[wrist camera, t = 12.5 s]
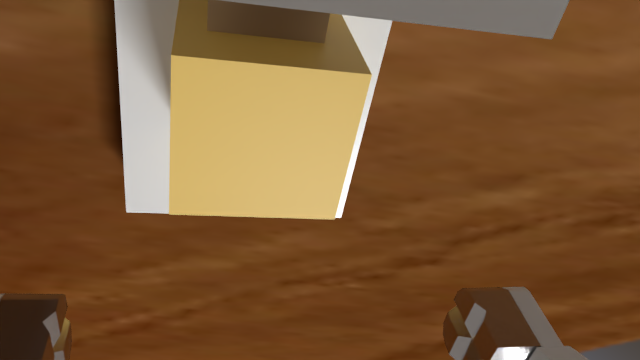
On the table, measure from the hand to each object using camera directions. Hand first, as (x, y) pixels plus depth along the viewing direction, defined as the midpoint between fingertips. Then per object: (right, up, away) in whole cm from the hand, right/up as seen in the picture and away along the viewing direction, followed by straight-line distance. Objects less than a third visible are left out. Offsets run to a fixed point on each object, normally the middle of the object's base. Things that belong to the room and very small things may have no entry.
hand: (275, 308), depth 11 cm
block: (-1, +7, +7) cm, 10 cm away
